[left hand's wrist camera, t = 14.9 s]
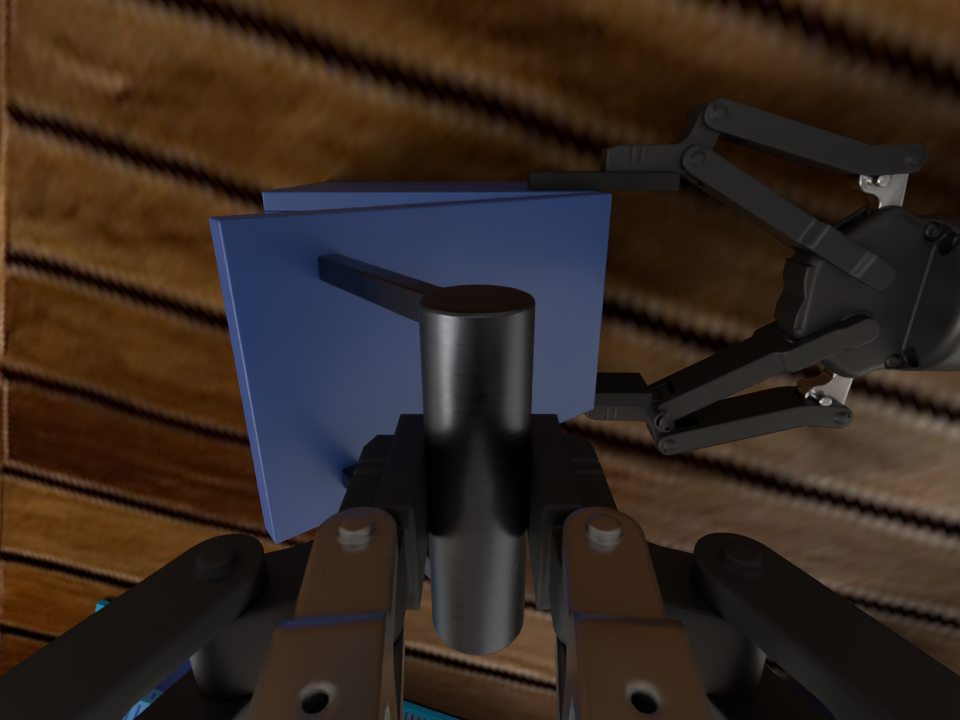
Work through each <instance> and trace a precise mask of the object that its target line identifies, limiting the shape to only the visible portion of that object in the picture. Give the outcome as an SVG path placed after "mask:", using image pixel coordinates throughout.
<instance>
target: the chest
mask: <svg viewBox="0 0 960 720" xmlns="http://www.w3.org/2000/svg"><path fill="white" fill-rule="evenodd" d="M527 183H528V182H320V183H314V184H308V185H301V186H295V187H289V188H282V189H276V190H270V191H264V192H262V196H263V203H264V209H265V213H278V212H293V211H308V210H324V209H339V208H355V207H370V206H386V205H401V204H416V203H432V202H447V201H463V200H478V199H494V198H509V197H524V196H540V195H555V194H571V193H586V192H598V191H596V190H530V189H529V188H528V187H527Z"/></svg>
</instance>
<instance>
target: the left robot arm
mask: <svg viewBox="0 0 960 720" xmlns="http://www.w3.org/2000/svg"><path fill="white" fill-rule="evenodd" d="M527 532H528V540H529V549H530V557H531V565H532V573H533V581H534V589H535V597H536V606H537V609H551V614H552V621H553V627H554V631H555V633H556V637H555V661H556V691H557V720H827V719H826V718H825V717H823V716H822V715H821V714H820V713H819V712H818V711H817V710H815V709H814V708H813V707H812V706H811V705H810V704H809V703H808V702H806V701H805V700H804V699H803V698H802V697H801V696H800V695H798V694H797V693H796V692H795V691H794V690H793V689H792V688H790V687H789V686H788V685H787V684H786V683H785V682H784V681H782V680H781V679H780V678H779V677H778V676H777V675H776V674H774V673H773V672H772V671H771V670H770V669H769V668H768V667H766V666H765V665H764V663H765V660H766V656H767V655H768V656H769V657H770V658H771V659H772V660H773V661H774V662H776V663H777V664H778V665H779V666H780V667H781V668H783V669H784V670H785V671H786V672H787V673H788V674H790V675H791V676H792V677H793V678H794V679H795V680H797V681H798V682H799V683H800V684H801V685H802V686H804V687H805V688H806V689H807V690H808V691H809V692H811V693H812V694H813V695H814V696H815V697H816V698H818V699H819V700H820V701H821V702H822V703H823V704H824V705H825V706H826V707H827V708H828V709H829V710H830V712H831V713H832V714H833V716H834V717H835V719H836V720H960V676H959V675H957V674H956V673H954V672H953V671H951V670H950V669H948V668H947V667H945V666H944V665H942V664H941V663H939V662H938V661H936V660H935V659H933V658H932V657H930V656H929V655H927V654H926V653H924V652H923V651H921V650H920V649H918V648H917V647H915V646H914V645H912V644H911V643H909V642H908V641H906V640H905V639H904V638H902V637H901V636H899V635H898V634H896V633H895V632H893V631H892V630H890V629H889V628H887V627H886V626H884V625H883V624H881V623H880V622H878V621H877V620H875V619H874V618H872V617H871V616H869V615H868V614H866V613H865V612H863V611H862V610H860V609H859V608H857V607H856V606H854V605H853V604H851V603H850V602H848V601H847V600H846V599H844V598H843V597H841V596H840V595H838V594H837V593H835V592H834V591H832V590H831V589H829V588H828V587H826V586H825V585H823V584H822V583H820V582H819V581H817V580H816V579H814V578H813V577H811V576H810V575H808V574H807V573H805V572H804V571H802V570H801V569H799V568H798V567H796V566H795V565H793V564H792V563H791V562H789V561H788V560H786V559H785V558H783V557H782V556H780V555H779V554H777V553H776V552H774V551H773V550H771V549H770V548H768V547H767V546H765V545H763V544H762V543H760V542H758V541H756V540H753V539H751V538H748V537H745V536H742V535H738V534H733V533H712V534H708V535H706V536H704V537H702V538H700V539H699V540H698V541H697V543H696V545H695V549H694V554H692V553H688V552H683V551H679V550H675V549H670V548H666V547H662V546H658V545H655V544H653V543H650V542H648V541H646V538H645V535H644V532H643V530H642V528H641V527H640V525H639V524H638V523H637V522H636V521H635V520H634V519H632V518H631V517H630V516H628V515H626V514H624V513H622V512H620V511H618V510H617V507H616V505H615V502H614V499H613V497H612V494H611V491H610V489H609V486H608V484H607V481H606V478H605V476H604V474H603V471H602V468H601V465H600V463H599V462H598V457H597V455H596V452H595V450H594V447H593V446H592V445H591V444H590V443H589V442H588V441H587V440H585V439H584V438H583V437H582V436H581V435H563V434H562V430H561V427H560V423H559V420H558V417H557V414H531V438H530V461H529V487H528V513H527ZM429 533H430V528H429V505H428V482H427V459H426V442H425V439H424V420H423V414H401V415H400V417H399V420H398V424H397V427H396V430H395V434H394V435H376V436H375V437H374V438H373V439H372V440H371V441H370V442H368V443H367V444H366V445H365V446H364V447H363V450H362V452H361V455H360V457H359V460H358V463H357V465H356V468H355V470H354V474H353V475H352V478H351V480H350V483H349V485H348V488H347V491H346V493H345V496H344V498H343V501H342V503H341V506H340V508H339V511H338V513H336V514H334V515H332V516H330V517H329V518H328V519H326V520H325V521H324V522H323V523H322V524H321V525H320V526H319V528H318V529H317V532H316V534H315V538H314V539H313V540H311V541H309V542H307V543H304V544H301V545H299V546H295V547H291V548H287V549H283V550H278V551H274V552H269V553H265V554H264V549H263V546H262V544H261V543H260V542H259V541H258V540H257V539H256V538H254V537H252V536H249V535H244V534H227V535H222V536H218V537H214V538H211V539H208V540H206V541H203V542H201V543H199V544H197V545H195V546H194V547H192V548H190V549H189V550H187V551H186V552H184V553H183V554H181V555H180V556H178V557H177V558H175V559H174V560H172V561H171V562H169V563H168V564H167V565H165V566H164V567H162V568H161V569H159V570H158V571H156V572H155V573H153V574H152V575H150V576H149V577H147V578H146V579H144V580H143V581H141V582H140V583H138V584H137V585H135V586H134V587H132V588H131V589H129V590H128V591H126V592H125V593H123V594H122V595H120V596H119V597H117V598H116V599H114V600H113V601H111V602H110V603H109V604H107V605H106V606H104V607H103V608H101V609H100V610H98V611H97V612H95V613H94V614H92V615H91V616H89V617H88V618H86V619H85V620H83V621H82V622H80V623H79V624H77V625H76V626H74V627H73V628H71V629H70V630H68V631H67V632H65V633H64V634H62V635H61V636H59V637H58V638H56V639H55V640H54V641H52V642H51V643H49V644H48V645H46V646H45V647H43V648H42V649H40V650H39V651H37V652H36V653H34V654H33V655H31V656H30V657H28V658H27V659H25V660H24V661H22V662H21V663H19V664H18V665H16V666H15V667H13V668H12V669H10V670H9V671H7V672H6V673H4V674H3V675H1V676H0V720H123V718H124V717H125V715H126V714H127V713H128V712H129V711H130V709H131V708H132V707H133V706H134V705H135V704H137V703H138V702H139V701H140V700H141V699H142V698H143V697H145V696H146V695H147V694H148V693H149V692H150V691H152V690H153V689H154V688H155V687H156V686H157V685H159V684H160V683H161V682H162V681H163V680H164V679H166V678H167V677H168V676H169V675H170V674H171V673H173V672H174V671H175V670H176V669H177V668H178V667H180V666H181V665H182V664H183V663H184V662H185V661H187V660H188V659H189V658H190V662H191V666H192V668H191V669H190V670H189V671H188V672H187V673H186V674H184V675H183V676H182V677H181V678H180V679H179V680H178V681H176V682H175V683H174V684H173V685H172V686H171V687H170V688H168V689H167V690H166V691H165V692H164V693H163V694H162V695H160V696H159V697H158V698H157V699H156V700H155V701H154V702H152V703H151V704H150V705H149V706H148V707H147V708H146V709H145V710H143V711H142V712H141V713H140V714H139V715H138V716H137V717H135V718H134V719H133V720H402V718H403V688H404V657H405V639H404V625H403V623H404V616H405V610H420V602H421V595H422V587H423V579H424V572H425V564H426V556H427V548H428V541H429Z"/></svg>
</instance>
